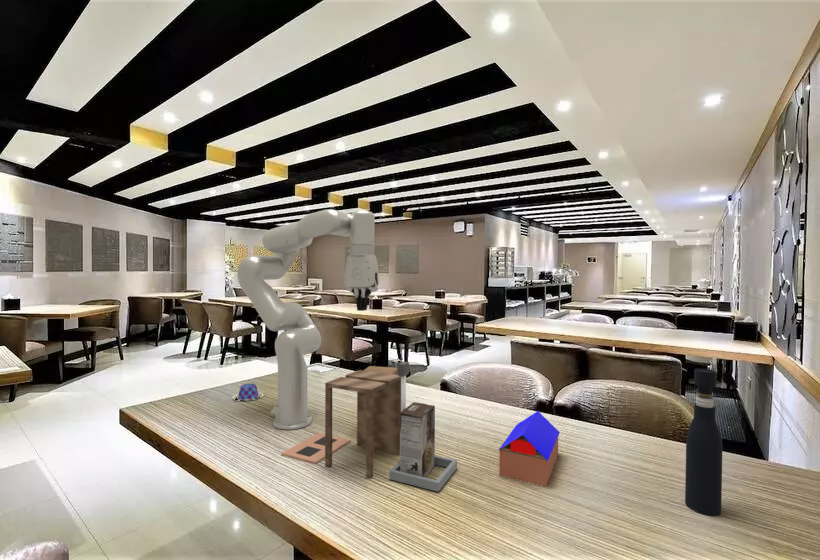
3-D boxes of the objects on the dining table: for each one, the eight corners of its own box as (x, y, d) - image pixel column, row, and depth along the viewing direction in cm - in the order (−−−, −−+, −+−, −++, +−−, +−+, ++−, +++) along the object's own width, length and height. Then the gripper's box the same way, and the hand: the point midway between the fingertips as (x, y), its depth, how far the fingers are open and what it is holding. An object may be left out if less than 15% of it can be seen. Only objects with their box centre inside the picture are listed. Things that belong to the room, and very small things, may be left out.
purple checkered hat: (249, 404, 157) (249, 390, 157) (225, 400, 162) (225, 387, 162) (270, 395, 168) (270, 382, 168) (247, 392, 173) (247, 380, 173)
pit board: (281, 455, 113) (281, 452, 113) (318, 434, 127) (318, 432, 127) (315, 464, 107) (315, 461, 107) (350, 442, 122) (350, 439, 122)
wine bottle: (678, 499, 92) (680, 367, 91) (704, 498, 92) (707, 366, 92) (700, 516, 85) (703, 374, 85) (729, 515, 86) (731, 373, 85)
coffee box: (412, 461, 110) (413, 401, 109) (435, 465, 107) (436, 404, 107) (398, 476, 101) (399, 411, 101) (422, 481, 99) (423, 415, 98)
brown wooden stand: (325, 466, 106) (325, 382, 106) (358, 443, 120) (359, 369, 120) (371, 478, 100) (371, 389, 100) (400, 453, 114) (401, 375, 114)
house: (559, 455, 114) (559, 414, 114) (547, 488, 96) (547, 439, 96) (516, 447, 120) (516, 407, 120) (497, 476, 102) (498, 430, 102)
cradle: (388, 478, 100) (388, 368, 99) (411, 457, 111) (411, 358, 111) (438, 491, 94) (439, 374, 93) (457, 467, 105) (458, 363, 105)
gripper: (335, 251, 126) (335, 310, 126) (376, 250, 120) (376, 312, 120) (349, 252, 133) (348, 308, 133) (389, 251, 126) (388, 310, 127)
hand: (361, 310), depth 127 cm, fingers closed
